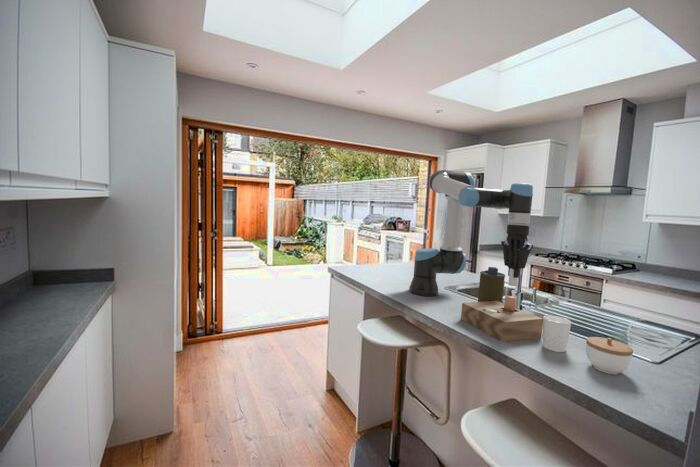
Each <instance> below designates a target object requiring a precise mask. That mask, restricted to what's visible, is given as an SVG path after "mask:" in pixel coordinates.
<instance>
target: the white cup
mask: <svg viewBox="0 0 700 467" xmlns="http://www.w3.org/2000/svg"><path fill="white" fill-rule="evenodd" d="M542 318H543V327H542V336H541V338H542V342H541V344H542V345H541V346H542V347H543V348H544V349H547V350H549V351H552V352H556V353H564V352H566V350H567V345H568V342H569V338H570V332H571V327H572V321H571V320H570V319H568V318H565V317H562V316H558V315H550V314H547V315H546V314H545V315H543V317H542Z"/></svg>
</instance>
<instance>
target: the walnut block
mask: <svg viewBox="0 0 700 467" xmlns="http://www.w3.org/2000/svg"><path fill="white" fill-rule="evenodd" d="M486 309H493V310H496V311H497V313H493V314H491V313H489V312H486ZM460 320H461V321H462V322H464V323H466V324H468V325H470V326H471V327H474V328H476V329H477V330H480V331H482V332H483V333H486V334H488V335H489V336H492V337H493V338H495V339H497V340H498V341H500V342H502V343H504V342H505V343H506V342H512V341H514V342H515V341H522V340H529V339H531V340H532V339H540V338H539V337H541V338H542V336H543V317H540V316H538V315H535V314H532V313H530V312H527V311H524V310H522V309H519V308H517V307H516V308H515V312H508V311H506V310H504V303H503V302H502V303H501V302H499V301H486V302H478V301H474V302H470V301H469V302H462V304H461V314H460Z"/></svg>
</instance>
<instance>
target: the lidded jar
mask: <svg viewBox="0 0 700 467" xmlns="http://www.w3.org/2000/svg"><path fill="white" fill-rule="evenodd" d="M585 341H586V345H585V351H586V356H587V359H588V361H589V362H590V364H591V365H592V366H593V367H592V368H594V369H595V370H596V371H597V370H598V371H599V372H602V373H605V374H608V375H619V374H620V373H623V372H624V371H626V370H627V369H628V368H629V366H630V364H631V361H632V357H633V353H634V349H633V348H632V347H631V346H629V345H628V344H626V343H624V342H620V341H618V340H614V339H612V338H610V337H607V338H606V337H601V336H588V337H587V338H586V340H585Z"/></svg>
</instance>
